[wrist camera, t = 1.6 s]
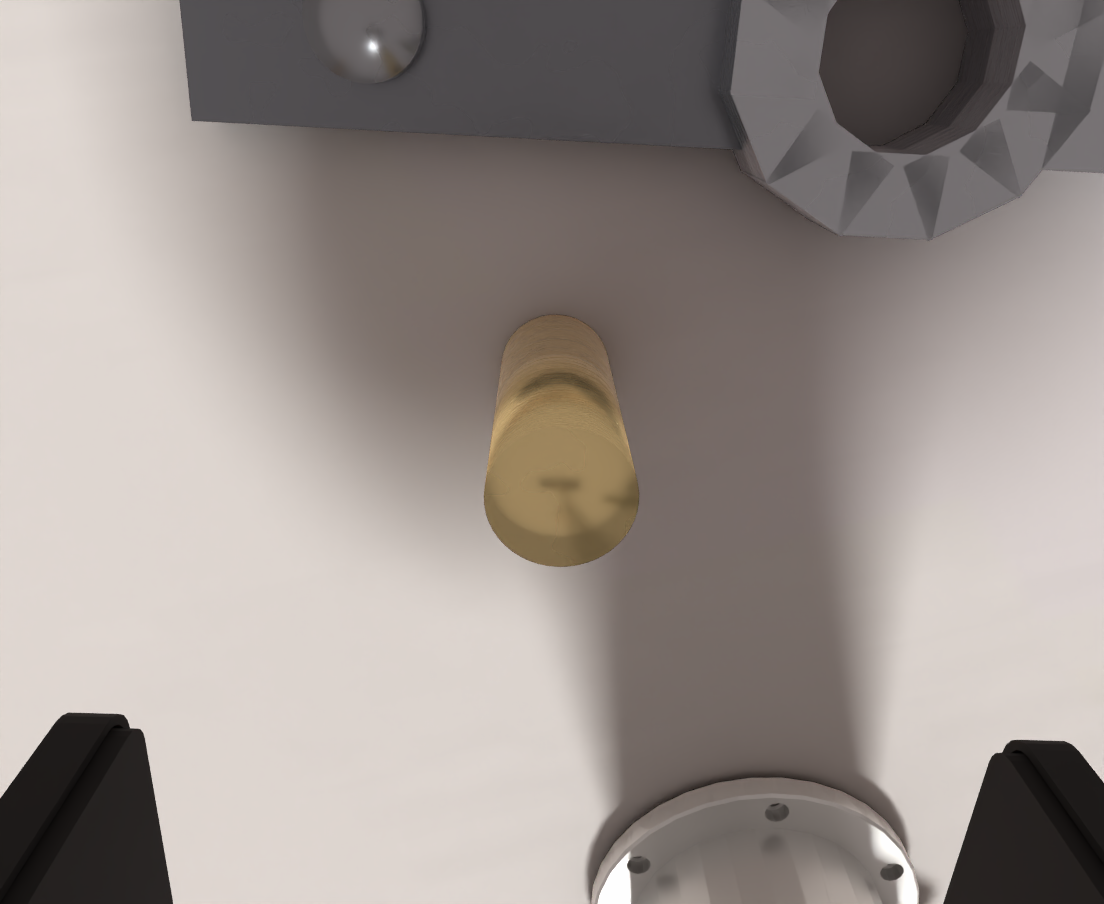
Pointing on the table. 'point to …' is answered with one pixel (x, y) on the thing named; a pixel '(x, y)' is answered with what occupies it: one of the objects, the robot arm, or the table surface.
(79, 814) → the robot arm
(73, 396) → the table surface
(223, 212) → the table surface
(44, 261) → the table surface
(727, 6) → the lower chain end
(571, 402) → the brass pin
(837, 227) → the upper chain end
